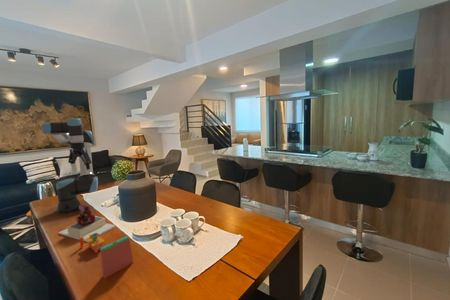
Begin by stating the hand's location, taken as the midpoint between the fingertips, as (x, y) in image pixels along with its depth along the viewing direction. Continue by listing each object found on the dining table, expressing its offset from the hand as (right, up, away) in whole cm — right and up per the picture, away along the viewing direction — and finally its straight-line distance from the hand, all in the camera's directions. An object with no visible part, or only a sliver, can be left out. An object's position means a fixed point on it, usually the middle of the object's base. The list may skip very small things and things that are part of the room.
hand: (81, 173), depth 142 cm
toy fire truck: (+12, -28, -13) cm, 33 cm away
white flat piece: (+13, -33, -12) cm, 38 cm away
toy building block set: (+37, -36, -38) cm, 64 cm away
